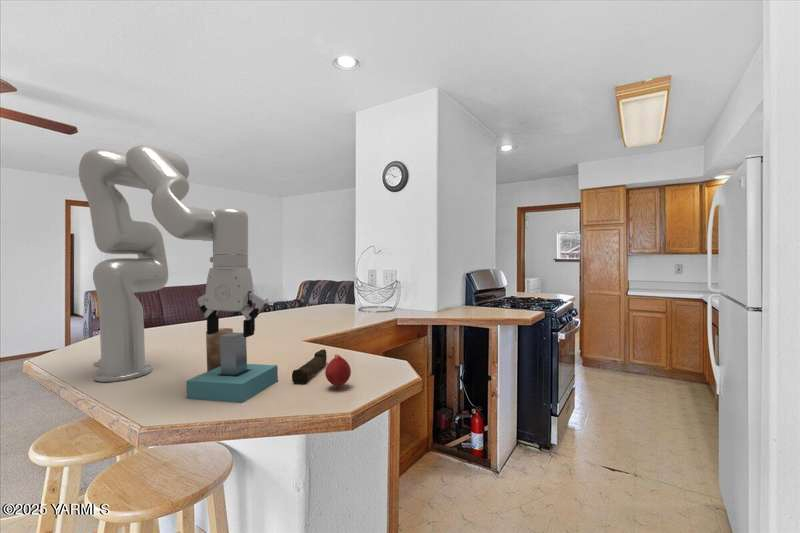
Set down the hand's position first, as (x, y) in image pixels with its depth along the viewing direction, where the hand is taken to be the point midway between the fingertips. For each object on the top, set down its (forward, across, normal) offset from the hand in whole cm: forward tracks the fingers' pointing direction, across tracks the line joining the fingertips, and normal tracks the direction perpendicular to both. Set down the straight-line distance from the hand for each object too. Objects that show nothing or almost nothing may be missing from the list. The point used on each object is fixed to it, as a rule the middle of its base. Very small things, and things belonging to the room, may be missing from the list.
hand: (230, 334), depth 87 cm
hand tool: (+13, +14, +15) cm, 24 cm away
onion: (+12, +25, +5) cm, 28 cm away
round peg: (+13, -10, +9) cm, 19 cm away
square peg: (+12, +1, 0) cm, 12 cm away
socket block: (+13, +1, 0) cm, 13 cm away
